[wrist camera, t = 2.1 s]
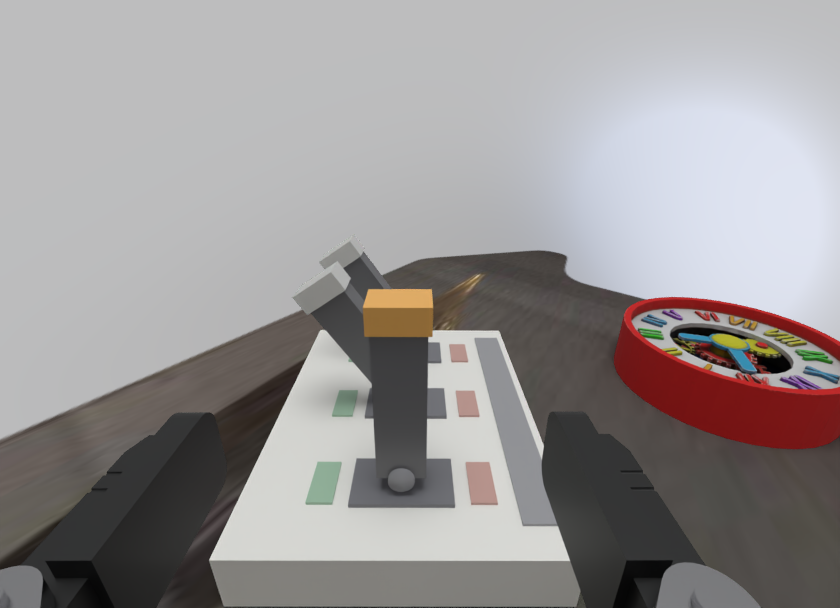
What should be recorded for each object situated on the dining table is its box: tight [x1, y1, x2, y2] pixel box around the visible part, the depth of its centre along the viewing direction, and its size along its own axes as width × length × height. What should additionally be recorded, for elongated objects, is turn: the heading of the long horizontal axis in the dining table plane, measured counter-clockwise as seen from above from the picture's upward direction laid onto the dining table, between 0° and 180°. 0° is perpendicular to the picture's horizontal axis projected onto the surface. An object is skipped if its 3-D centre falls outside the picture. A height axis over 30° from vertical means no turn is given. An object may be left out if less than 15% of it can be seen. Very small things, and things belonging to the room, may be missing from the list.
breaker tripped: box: [363, 289, 433, 492], centre depth 23 cm, size 3×3×12 cm
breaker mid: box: [293, 261, 371, 382], centre depth 31 cm, size 3×3×12 cm
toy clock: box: [614, 297, 840, 449], centre depth 42 cm, size 20×6×20 cm
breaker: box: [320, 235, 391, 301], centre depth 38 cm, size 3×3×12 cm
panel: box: [209, 330, 580, 607], centre depth 34 cm, size 20×26×4 cm
